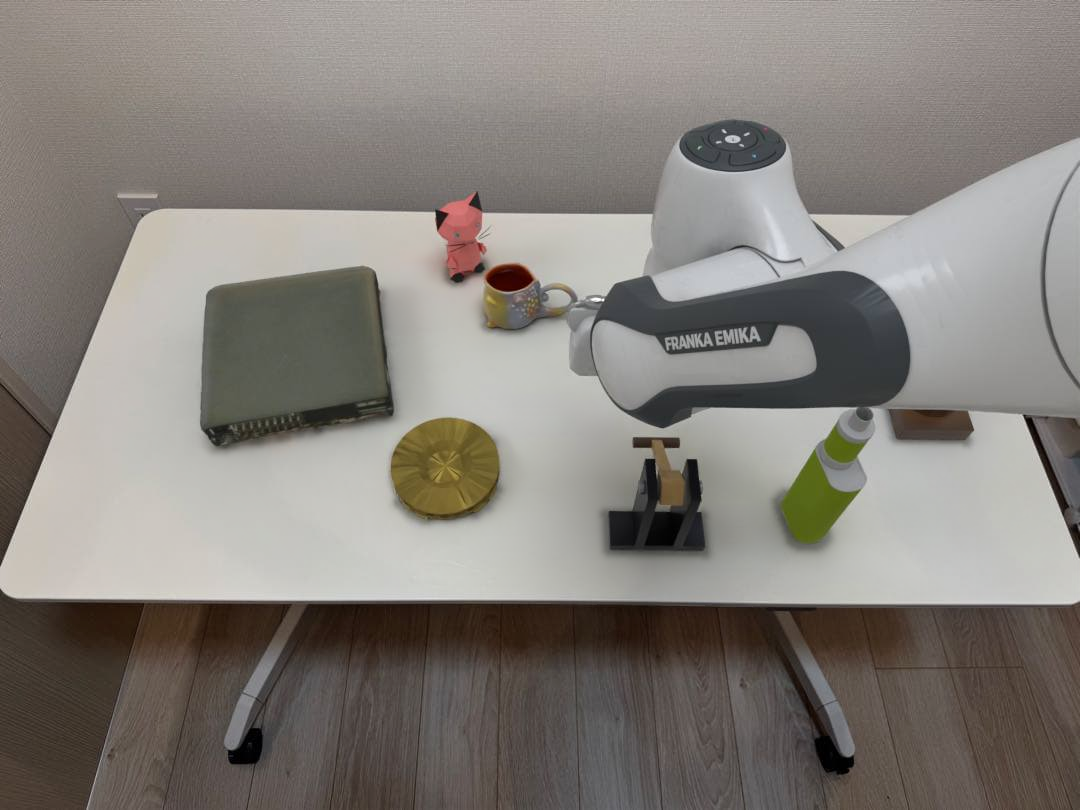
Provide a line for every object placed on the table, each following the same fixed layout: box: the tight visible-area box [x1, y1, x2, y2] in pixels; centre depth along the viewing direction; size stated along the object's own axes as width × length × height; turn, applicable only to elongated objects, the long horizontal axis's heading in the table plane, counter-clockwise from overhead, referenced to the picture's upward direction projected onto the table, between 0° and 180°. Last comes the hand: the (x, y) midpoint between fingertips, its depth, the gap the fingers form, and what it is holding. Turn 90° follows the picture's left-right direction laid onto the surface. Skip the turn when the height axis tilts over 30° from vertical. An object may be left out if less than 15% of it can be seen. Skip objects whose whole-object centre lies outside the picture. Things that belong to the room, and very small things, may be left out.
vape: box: [780, 407, 876, 545], centre depth 75 cm, size 4×6×20 cm, turn 11°
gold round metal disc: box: [389, 417, 501, 521], centre depth 85 cm, size 12×12×2 cm
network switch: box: [199, 265, 395, 447], centre depth 92 cm, size 23×23×5 cm
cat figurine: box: [434, 190, 493, 284], centre depth 98 cm, size 7×7×12 cm
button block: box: [888, 409, 975, 441], centre depth 90 cm, size 10×8×4 cm
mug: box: [482, 262, 579, 330], centre depth 96 cm, size 12×7×7 cm, turn 80°
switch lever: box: [631, 436, 685, 506], centre depth 78 cm, size 12×5×2 cm
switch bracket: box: [607, 457, 706, 552], centre depth 77 cm, size 4×10×13 cm, turn 89°
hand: (669, 391), depth 75 cm, fingers open, 8 cm apart
